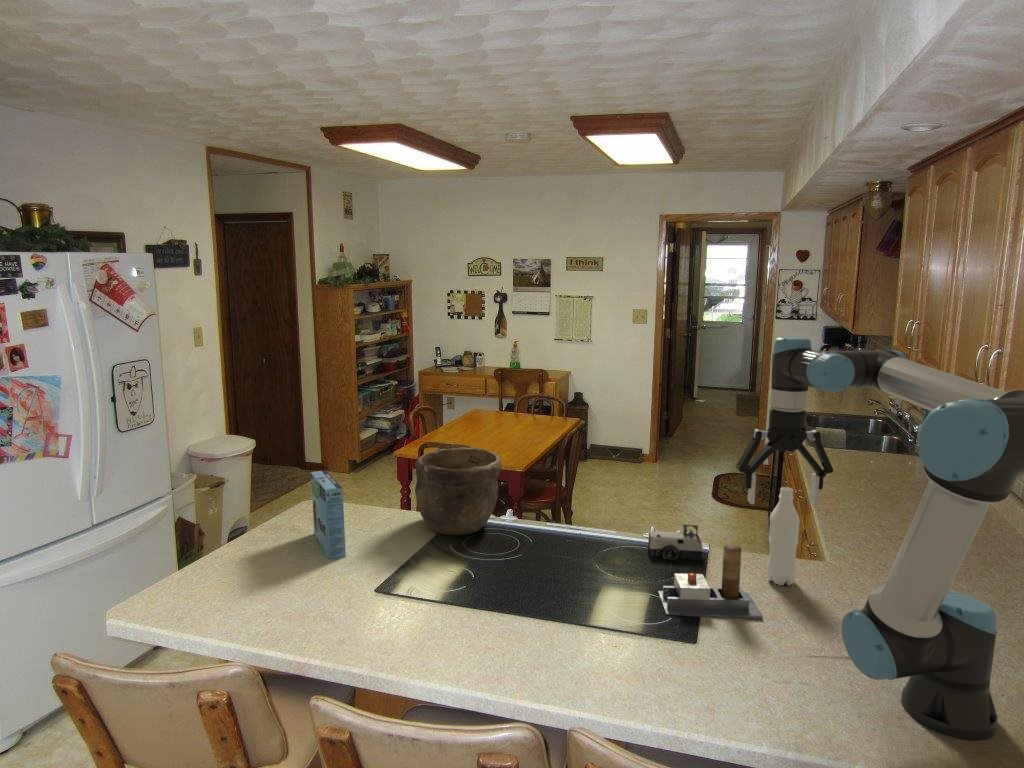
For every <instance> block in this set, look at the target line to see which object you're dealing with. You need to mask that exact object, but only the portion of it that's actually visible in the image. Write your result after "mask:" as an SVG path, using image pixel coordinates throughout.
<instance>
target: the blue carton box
mask: <svg viewBox="0 0 1024 768" xmlns="http://www.w3.org/2000/svg"><path fill="white" fill-rule="evenodd" d="M310 482H311V483H310V484H311V499H312V502H311V503H312V516H313V517H312V518H313V534H314V537H315V538H316V541H317V543H318V545H319V547H320V549H321V551H322V552H323V554H324V556H325V557H326V558H327V560H334V559H342V558H346V556H347V554H346V533H345V532H346V531H345V513H344V512H345V511H344V510H345V509H344V493H343V487H342V486H341V485H340V484H339V482H338V481H337V480H336V479H335V478H334V477H333V476H332V475H331V474H330V473H329V472H328V470H318V471H310Z"/></svg>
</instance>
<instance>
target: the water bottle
mask: <svg viewBox="0 0 1024 768" xmlns="http://www.w3.org/2000/svg"><path fill="white" fill-rule="evenodd" d="M779 492H780V493H779V495H778V498H779V500H778V502H777V504H776V506H775V507H774V509H773V510H772V511H771V513H770V516H769V536H768V543H769V556H768V560H767V564H766V575H767V579H768V580H770V581H773V582H774V585H776V584H778V585H777V586H779V585H783V586H784V585H787V584H788V585H787V586H791V584H792V585H793V583H794V582H795V580H796V578H797V563H796V561H797V560H796V554H797V548H798V544H799V533H800V532H799V531H800V530H799V529H800V524H801V523H800V521H801V520H800V516H799V514H798V512H797V509H796V507H795V505H794V502H793V500H795V499H794V489H793V488H792V487H786V486H781V487H780V489H779ZM770 581H769V582H770Z"/></svg>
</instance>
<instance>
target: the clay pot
mask: <svg viewBox="0 0 1024 768" xmlns="http://www.w3.org/2000/svg"><path fill="white" fill-rule="evenodd" d="M414 465H415V475H416V477H417V480H416V484H415V487H414V493H415V499H416V505H417V508H418V510H419V513H420V515H421V517H422V519H423V521H424V522H425V524H426V526H427V527H428V528H429V529H430V530H431V531H432V532H435V533H437V534H441V535H446V536H447V535H448V536H465V535H469V534H474V533H476V532H479V531H480V530H481V529H482V528H483V527H484V526H485V525H486V524H487V523H488V521H489V519H490V518H491V516H492V515H493V513H494V511H495V508H496V505H497V501H498V493H499V484H498V481H497V480H498V477H499V475H500V474H501V468H502V461H501V457H500V456H499V455H498V454H497V453H494V452H493V451H490V450H488V449H482V448H478V447H458V448H456V447H455V448H454V447H452V448H440V449H437V450H434V451H431V452H427V453H425V454H423V455H420V456H419V458H417V460H416V462H415V463H414Z"/></svg>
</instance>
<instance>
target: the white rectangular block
mask: <svg viewBox="0 0 1024 768" xmlns="http://www.w3.org/2000/svg"><path fill="white" fill-rule="evenodd" d="M673 575H674V577H673V586H675V588H676V590H677V593H678V595H679V597H680V599H697V600H710V587H711V586H709V584H708V581H707V580H706V578H705V576H704V574H703V573H694V572H688V573H676V572H675V573H674V574H673Z"/></svg>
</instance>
